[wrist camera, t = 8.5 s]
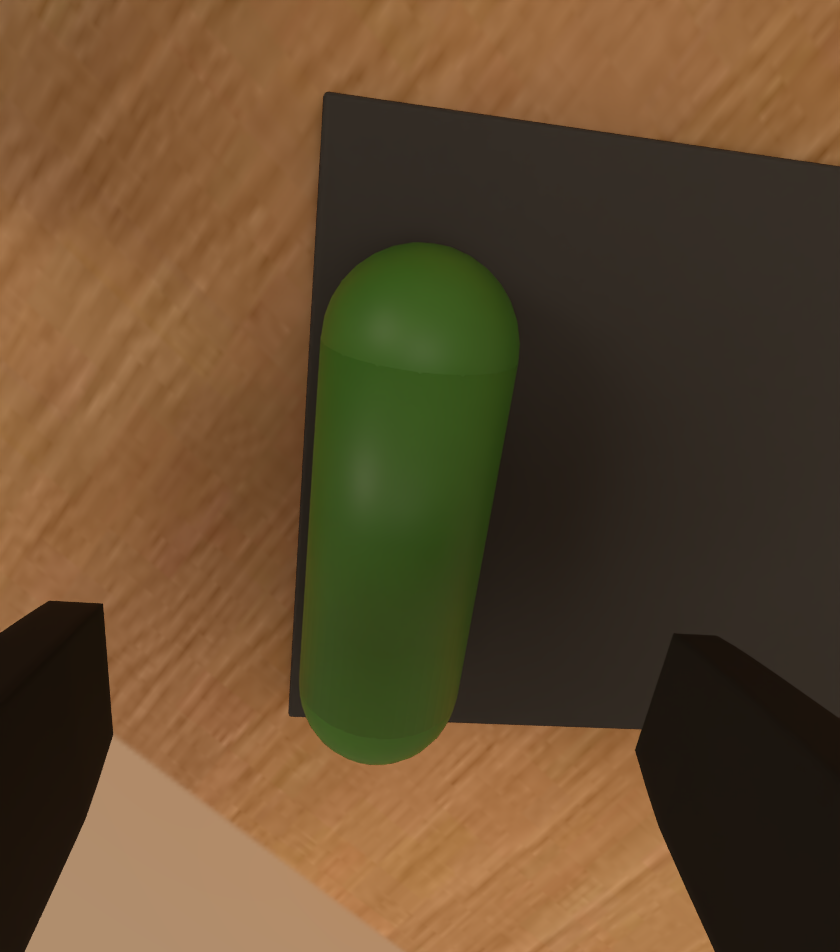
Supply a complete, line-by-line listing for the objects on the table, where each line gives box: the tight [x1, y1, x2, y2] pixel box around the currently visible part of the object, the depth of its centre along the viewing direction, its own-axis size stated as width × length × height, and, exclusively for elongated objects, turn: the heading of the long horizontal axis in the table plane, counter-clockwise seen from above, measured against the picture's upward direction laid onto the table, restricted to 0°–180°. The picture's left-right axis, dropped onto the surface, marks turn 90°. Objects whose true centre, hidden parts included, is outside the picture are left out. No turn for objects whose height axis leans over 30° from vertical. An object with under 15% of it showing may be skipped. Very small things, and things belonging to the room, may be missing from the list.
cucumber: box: [299, 242, 520, 765], centre depth 12 cm, size 10×3×3 cm, turn 173°
